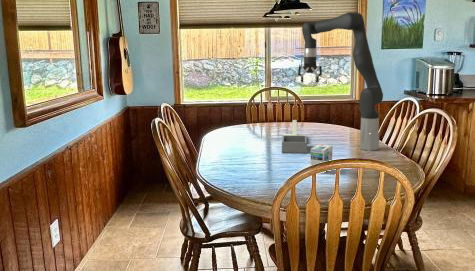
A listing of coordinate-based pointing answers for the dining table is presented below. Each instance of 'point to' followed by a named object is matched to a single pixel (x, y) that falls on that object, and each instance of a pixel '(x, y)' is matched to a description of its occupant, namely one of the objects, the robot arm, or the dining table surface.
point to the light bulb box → (321, 154)
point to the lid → (295, 129)
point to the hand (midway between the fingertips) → (309, 82)
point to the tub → (294, 144)
